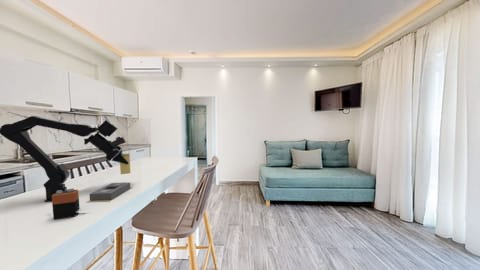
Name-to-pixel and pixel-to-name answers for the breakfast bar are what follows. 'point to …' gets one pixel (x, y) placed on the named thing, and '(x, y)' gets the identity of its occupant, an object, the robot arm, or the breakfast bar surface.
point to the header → (109, 192)
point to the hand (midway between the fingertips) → (128, 163)
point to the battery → (65, 203)
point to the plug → (125, 167)
